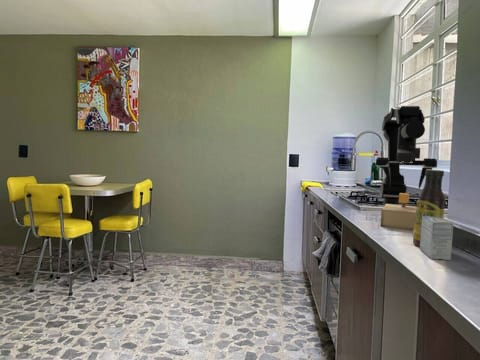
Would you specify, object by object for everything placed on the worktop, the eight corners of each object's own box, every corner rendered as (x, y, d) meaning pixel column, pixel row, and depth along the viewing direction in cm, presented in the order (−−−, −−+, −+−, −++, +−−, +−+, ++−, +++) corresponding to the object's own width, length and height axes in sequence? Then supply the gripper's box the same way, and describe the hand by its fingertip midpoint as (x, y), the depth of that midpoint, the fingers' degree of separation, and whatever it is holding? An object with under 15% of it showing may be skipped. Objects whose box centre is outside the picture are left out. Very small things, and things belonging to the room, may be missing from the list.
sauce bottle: (407, 243, 91) (413, 168, 90) (423, 242, 94) (429, 169, 92) (429, 250, 85) (436, 170, 84) (446, 248, 88) (453, 170, 86)
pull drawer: (385, 205, 126) (386, 191, 125) (422, 208, 120) (423, 194, 120) (383, 207, 119) (385, 193, 119) (422, 211, 114) (423, 196, 114)
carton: (384, 218, 126) (385, 203, 126) (421, 223, 121) (422, 207, 120) (380, 226, 113) (381, 209, 113) (421, 231, 108) (423, 213, 107)
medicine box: (451, 261, 77) (454, 223, 77) (429, 259, 78) (432, 221, 78) (438, 251, 85) (441, 216, 84) (418, 249, 86) (421, 215, 85)
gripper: (375, 139, 116) (372, 186, 116) (439, 139, 108) (436, 189, 108) (378, 143, 126) (376, 186, 126) (437, 143, 117) (434, 189, 117)
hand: (404, 187), depth 119 cm, fingers open, 9 cm apart
